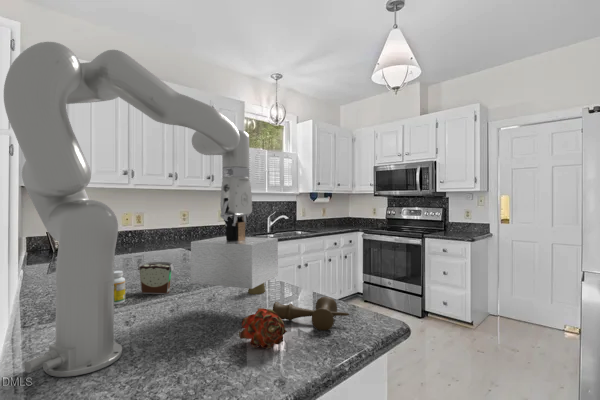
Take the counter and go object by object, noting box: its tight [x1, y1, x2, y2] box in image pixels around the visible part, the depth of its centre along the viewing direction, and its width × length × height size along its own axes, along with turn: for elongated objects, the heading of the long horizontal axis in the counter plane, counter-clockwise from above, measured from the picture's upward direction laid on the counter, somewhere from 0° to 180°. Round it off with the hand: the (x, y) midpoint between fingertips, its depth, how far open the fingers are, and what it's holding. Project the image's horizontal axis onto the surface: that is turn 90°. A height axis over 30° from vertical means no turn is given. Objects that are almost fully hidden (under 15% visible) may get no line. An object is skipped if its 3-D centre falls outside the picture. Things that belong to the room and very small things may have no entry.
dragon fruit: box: [238, 307, 288, 349], centre depth 71 cm, size 8×8×12 cm
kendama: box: [272, 296, 350, 331], centre depth 84 cm, size 6×10×20 cm
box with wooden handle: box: [190, 222, 279, 289], centre depth 91 cm, size 16×19×16 cm
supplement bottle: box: [114, 270, 126, 306], centre depth 101 cm, size 5×5×10 cm
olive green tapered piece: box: [247, 282, 266, 295], centre depth 113 cm, size 6×6×11 cm
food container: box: [137, 261, 174, 295], centre depth 114 cm, size 12×6×10 cm, turn 84°
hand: (236, 239), depth 91 cm, fingers closed on box with wooden handle, 3 cm apart
